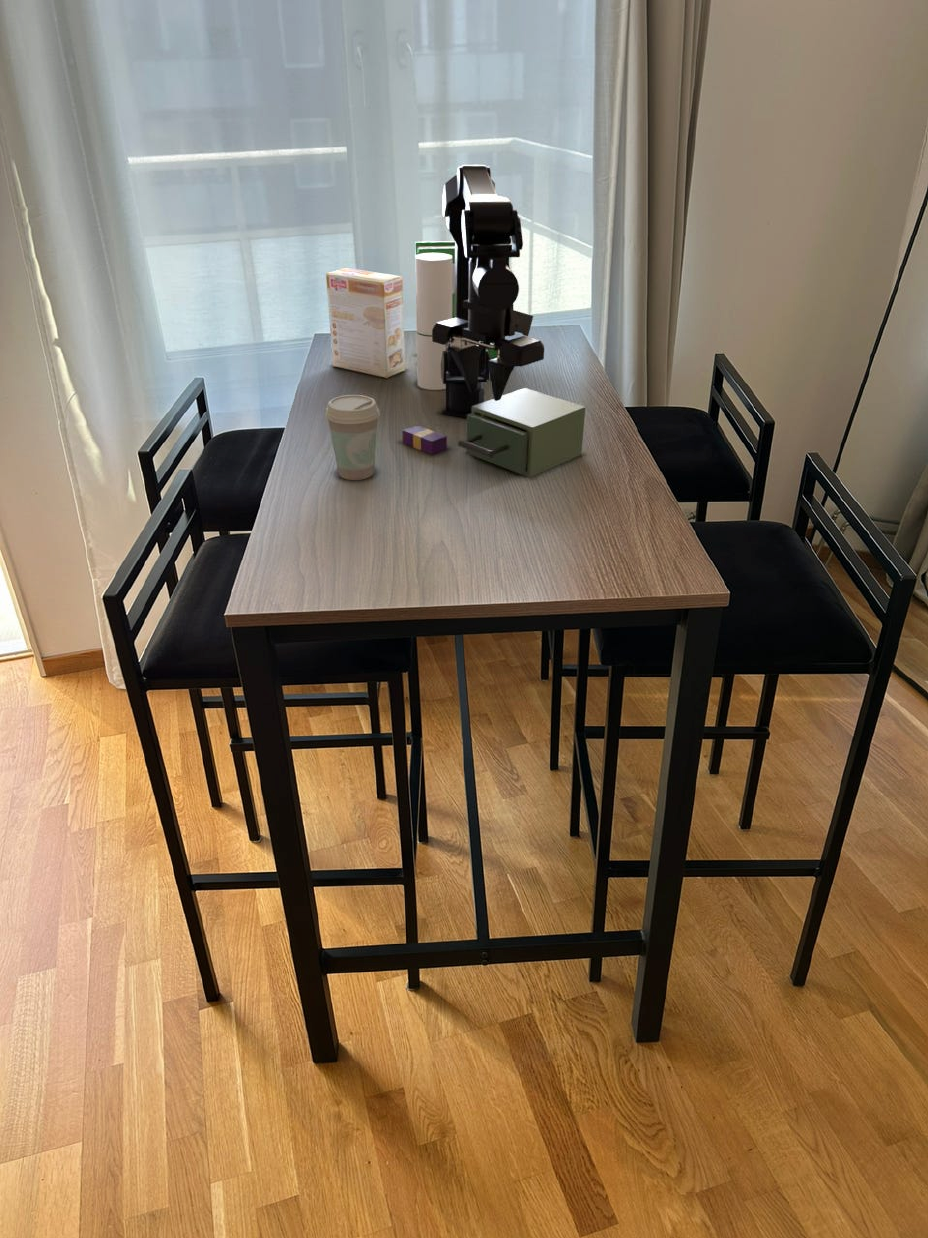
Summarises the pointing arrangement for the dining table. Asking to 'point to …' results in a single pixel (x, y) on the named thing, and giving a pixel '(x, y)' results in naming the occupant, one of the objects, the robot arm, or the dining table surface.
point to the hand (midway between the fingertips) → (485, 395)
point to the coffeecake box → (366, 321)
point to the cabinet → (540, 426)
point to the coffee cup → (353, 434)
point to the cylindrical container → (431, 314)
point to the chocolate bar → (424, 439)
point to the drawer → (497, 442)
